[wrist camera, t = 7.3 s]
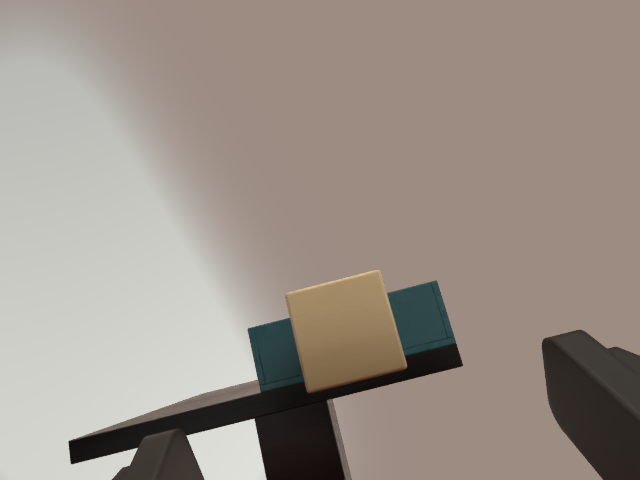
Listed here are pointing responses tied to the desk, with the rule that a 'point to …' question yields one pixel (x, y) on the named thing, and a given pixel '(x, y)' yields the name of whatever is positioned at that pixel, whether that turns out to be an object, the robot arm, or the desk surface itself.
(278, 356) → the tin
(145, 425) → the stand
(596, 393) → the robot arm
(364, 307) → the birch bar
